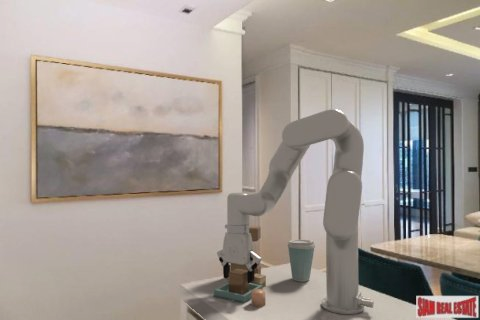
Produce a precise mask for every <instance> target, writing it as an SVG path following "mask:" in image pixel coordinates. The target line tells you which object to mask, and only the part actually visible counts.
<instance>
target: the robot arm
mask: <svg viewBox="0 0 480 320" xmlns="http://www.w3.org/2000/svg"><path fill="white" fill-rule="evenodd" d="M361 133H362V132H361V131H360V130H359V128H358V126H357V125H355V124H354V123H353V122H352V121H350V120H349V118H348V117H347V115H346V113H344V112H343V111H341V110H339V109H336V108H332V109H331V108H330V109H326V110H323V111H320V112H317V113H314V114H311V115H308V116H304V117H302V118H298V119H296V120H293V121H290V122H289V123H288V124H286V125H285V126H284V128H283V130H282V132H281V139H282V141H281V143H280V144H279V146H278V147H277V149H276V151H274V152H275V153H274V154H273V156H272V157H271V159H270V162H269V166H268V169H269V170H268V175H267V177H266V179H265V181H264V183H263V185H262V187H261V188H260V190H259V191H258V192H256V193H249V194H248V193H246V192H232V193H229V194H228V195H227V196H226V197H227V198H226V200H227V201H226V202H227V203H226V205H227V206H226V209H227V211H226V217H227V218H226V219H227V221H226V222H227V223H226V224H225V225H224V228H225V229H227V231H226V232H224V237H223V244H222V249H221V250H218V251H217V252H216V254H217V258H218V259H219V262H220V263H221V266H222V275H223V278H224V279H227V278H229V272H230V263H233V264H238V265H246V266H247V268H248V269H249V271H248V272H247V282H248V283H251V282H253V281H254V278H255V269H256V268H257V267H258V266H259V265H260V264H261V261H262V257H260V256H259V255H258V254H257V253H255V252H254V243H253V242H252V237H251V233H249V226H250V216H253V217H262V216H265V215H266V214H267V213H269V212H271V211H273V209H274V208H275V207H276V205H277V204H278V202H279V200H280V199H281V197H282V195H283V194H284V192H285V189H286V188H287V186H288V184H289V182H290V180H291V178H292V177H293V174H294V173H295V171H296V170H297V167H298V166H299V164H300V162H301V161H302V159H303V158H304V157H305V154H306V153H307V151H308V150H309V148H310V146H311V145H314V144H315V145H316V144H319V143H321V142H325V141H327V140H331V141H332V142H333V143H334V146H335V147H334V148H335V151H334V157H333V158H334V159H333V167H332V168H333V169H332V173H331V175H330V176H329V178H328V180H327V184H326V185H327V186H326V191H325V192H326V193H325V201H324V210H323V216H322V217H323V219H322V225H323V228H324V231H325V233H326V234H325V241H326V242H325V251H326V252H325V257H326V258H325V259H326V260H325V265H326V267H325V270H326V271H325V272H326V275H325V276H326V284H325V285H326V296H324V297H323V298H322V299H321V307H323V308H324V309H325V310H327V311H328V312H332V313H335V314H341V315H355V314H356V315H357V314H360V313H362V312H363V311H364V309H365V307H366V308H370V309H373V308H374V304H375V303H374V300H372V298H369V297H364V296H363V295H362V291H359V289H360V288H359V215H360V208H361V201H362V190H363V183H362V172H363V164H364V153H365V152H364V151H365V150H364V149H365V148H364V147H365V146H364V139H363V136H362V135H363V134H361ZM254 260H255V261H254ZM253 262H254V263H253Z"/></svg>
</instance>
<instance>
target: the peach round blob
mask: <svg viewBox="0 0 480 320" xmlns="http://www.w3.org/2000/svg"><path fill="white" fill-rule="evenodd" d="M250 301H251V306H252V307H255V308H262V307H265V306H266V290H264V289H263V290H262V289H254V290H252V291H251V300H250Z"/></svg>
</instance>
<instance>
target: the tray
mask: <svg viewBox="0 0 480 320" xmlns="http://www.w3.org/2000/svg"><path fill="white" fill-rule="evenodd" d="M254 289H262V290H264V288H263V286H262V285H257V284H252V283H249V292H247V293H245V294H244V295H241V294H237V293H233V292H229V281H228V282H226V283H224V284H223V285H220V286H218V287H216V288H214V289H213V297H216V298H219V297H220V299H225V300H229V301H231V302H235V303H240V304H246V303H247V302H249V301H251V291H252V290H254Z"/></svg>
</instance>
